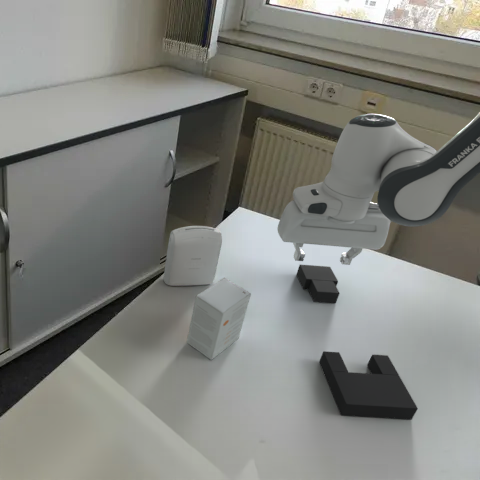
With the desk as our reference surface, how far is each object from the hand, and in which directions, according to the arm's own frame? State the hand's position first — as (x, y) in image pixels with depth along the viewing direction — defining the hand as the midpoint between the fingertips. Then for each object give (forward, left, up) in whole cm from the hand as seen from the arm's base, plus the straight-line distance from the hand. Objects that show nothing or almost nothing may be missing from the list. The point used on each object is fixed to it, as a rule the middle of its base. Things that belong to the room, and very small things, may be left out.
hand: (321, 261), depth 107 cm
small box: (+30, +5, -6) cm, 31 cm away
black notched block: (+14, +24, -5) cm, 29 cm away
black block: (+1, +2, -5) cm, 6 cm away
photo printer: (+24, -11, -6) cm, 27 cm away
